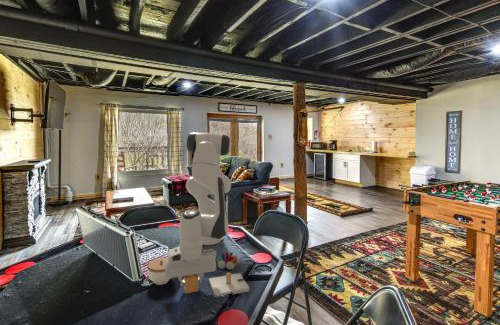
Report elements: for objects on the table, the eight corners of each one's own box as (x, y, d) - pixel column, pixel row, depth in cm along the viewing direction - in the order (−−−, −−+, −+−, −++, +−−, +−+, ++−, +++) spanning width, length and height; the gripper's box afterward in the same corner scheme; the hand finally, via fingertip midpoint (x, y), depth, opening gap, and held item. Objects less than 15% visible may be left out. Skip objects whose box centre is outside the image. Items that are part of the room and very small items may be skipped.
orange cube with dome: (183, 286, 110) (183, 270, 109) (196, 284, 112) (196, 269, 111) (185, 293, 105) (185, 277, 104) (198, 291, 107) (198, 275, 106)
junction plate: (208, 281, 114) (208, 269, 113) (239, 276, 119) (240, 264, 118) (215, 297, 103) (215, 284, 102) (249, 291, 108) (249, 278, 107)
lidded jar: (149, 290, 107) (149, 268, 106) (146, 277, 116) (146, 257, 115) (176, 284, 111) (176, 262, 111) (171, 272, 121) (171, 252, 120)
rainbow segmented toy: (234, 272, 123) (235, 257, 122) (214, 269, 125) (215, 254, 124) (239, 263, 131) (239, 249, 130) (220, 261, 133) (220, 247, 132)
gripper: (214, 245, 113) (214, 275, 115) (164, 251, 106) (164, 284, 108) (218, 251, 107) (217, 283, 109) (165, 258, 100) (165, 292, 102)
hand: (190, 283), depth 108 cm, fingers closed on orange cube with dome, 5 cm apart
